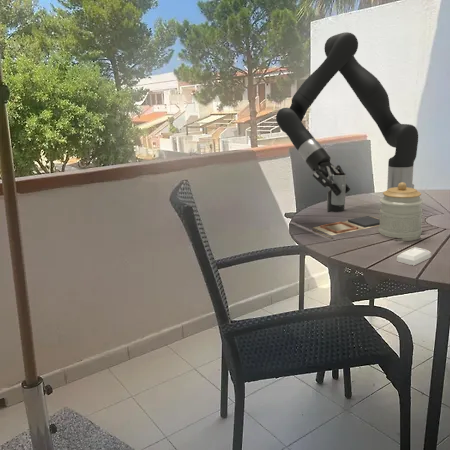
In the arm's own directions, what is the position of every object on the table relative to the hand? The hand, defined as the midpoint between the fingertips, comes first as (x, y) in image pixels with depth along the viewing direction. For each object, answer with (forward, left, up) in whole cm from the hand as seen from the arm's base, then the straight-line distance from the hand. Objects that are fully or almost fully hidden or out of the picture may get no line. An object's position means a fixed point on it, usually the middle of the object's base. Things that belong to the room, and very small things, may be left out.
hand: (343, 192), depth 145 cm
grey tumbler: (+1, -2, -4) cm, 5 cm away
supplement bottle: (-14, -23, -14) cm, 31 cm away
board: (-5, -2, -14) cm, 15 cm away
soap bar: (0, +31, -14) cm, 34 cm away
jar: (-12, +13, -14) cm, 23 cm away
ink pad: (-11, -2, -13) cm, 17 cm away
